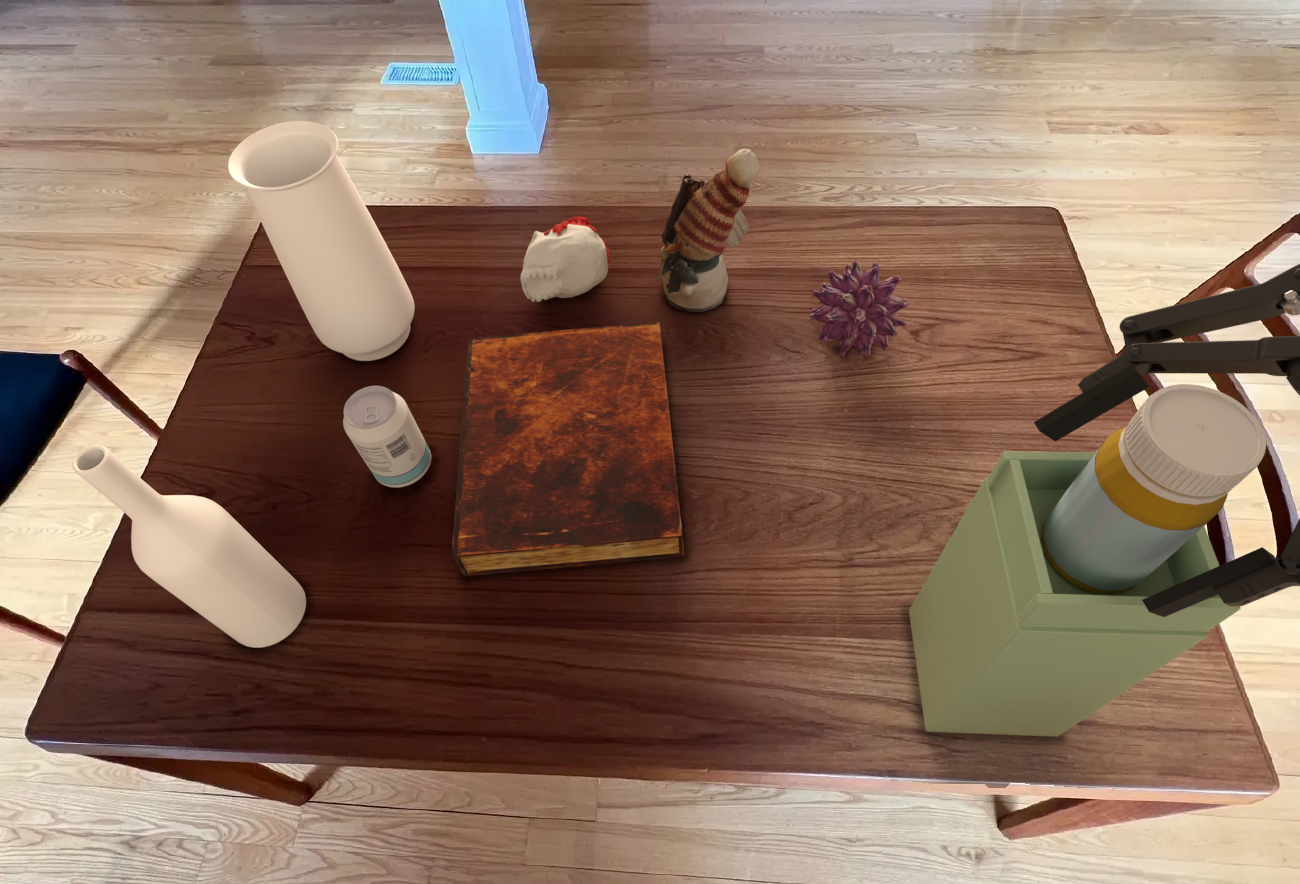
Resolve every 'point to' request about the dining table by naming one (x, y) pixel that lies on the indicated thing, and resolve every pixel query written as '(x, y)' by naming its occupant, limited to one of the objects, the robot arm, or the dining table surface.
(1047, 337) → the dining table surface
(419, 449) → the beverage can
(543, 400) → the book
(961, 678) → the stand
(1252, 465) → the bottle
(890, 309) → the flower
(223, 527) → the bottle
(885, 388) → the dining table surface
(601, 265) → the white and red skull
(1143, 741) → the dining table surface
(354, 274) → the vase
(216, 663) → the dining table surface
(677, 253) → the figurine
